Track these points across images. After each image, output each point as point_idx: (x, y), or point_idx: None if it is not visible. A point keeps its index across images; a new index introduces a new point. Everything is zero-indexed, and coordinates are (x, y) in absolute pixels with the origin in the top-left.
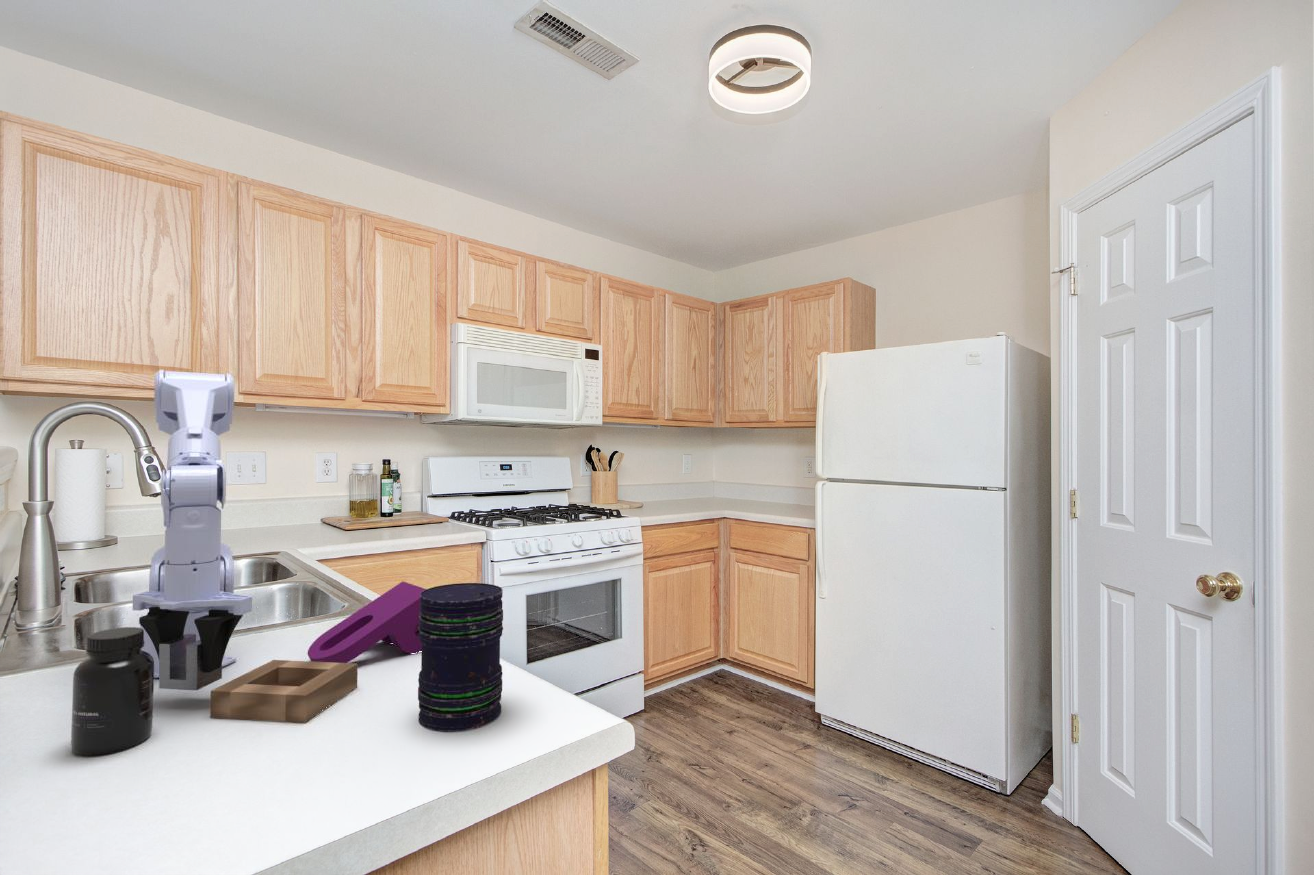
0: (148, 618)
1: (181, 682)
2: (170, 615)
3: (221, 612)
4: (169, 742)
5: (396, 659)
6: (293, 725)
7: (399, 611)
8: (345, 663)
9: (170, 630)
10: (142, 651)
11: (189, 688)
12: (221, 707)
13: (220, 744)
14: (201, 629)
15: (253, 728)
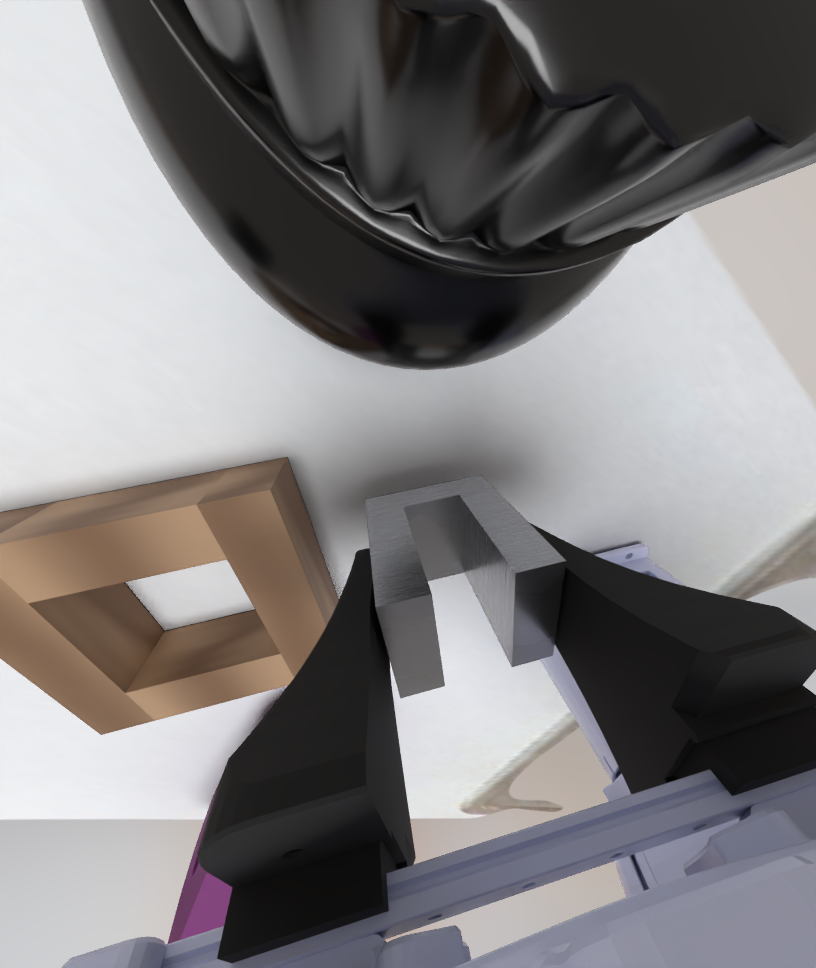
0: (764, 659)
1: (417, 499)
2: (663, 729)
3: (261, 923)
4: (217, 296)
5: (229, 753)
6: (7, 494)
7: (192, 914)
8: (133, 724)
9: (591, 641)
10: (326, 218)
11: (388, 496)
12: (244, 475)
13: (41, 329)
14: (340, 704)
15: (93, 446)
